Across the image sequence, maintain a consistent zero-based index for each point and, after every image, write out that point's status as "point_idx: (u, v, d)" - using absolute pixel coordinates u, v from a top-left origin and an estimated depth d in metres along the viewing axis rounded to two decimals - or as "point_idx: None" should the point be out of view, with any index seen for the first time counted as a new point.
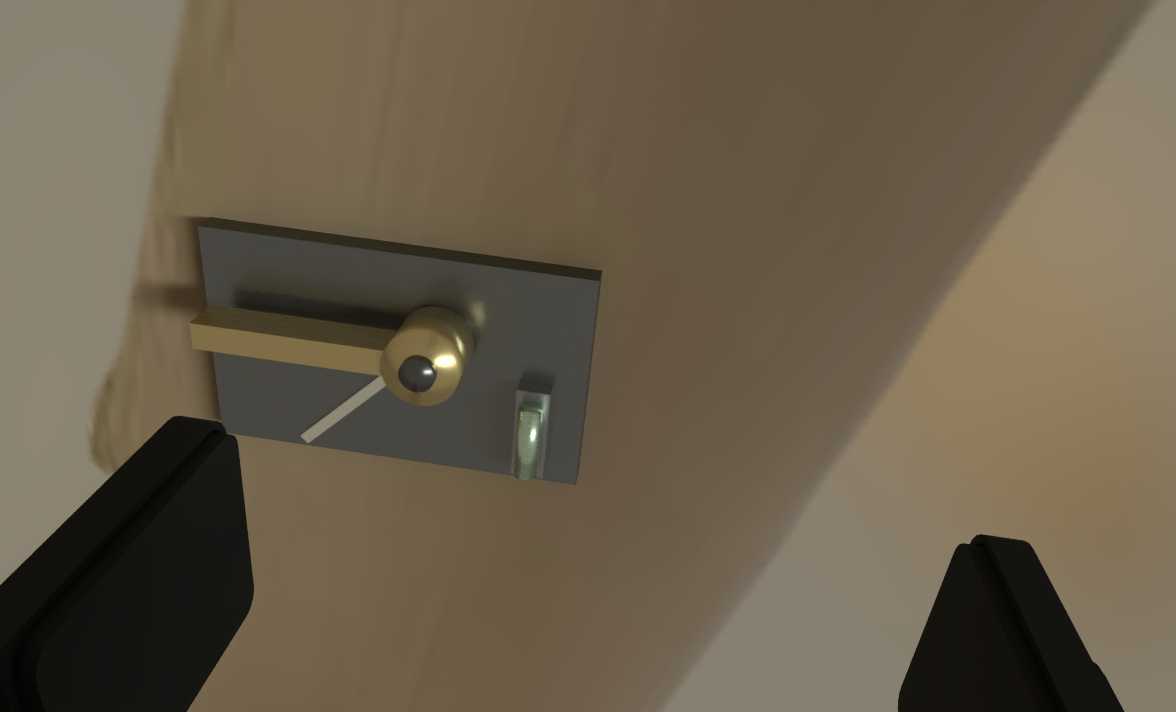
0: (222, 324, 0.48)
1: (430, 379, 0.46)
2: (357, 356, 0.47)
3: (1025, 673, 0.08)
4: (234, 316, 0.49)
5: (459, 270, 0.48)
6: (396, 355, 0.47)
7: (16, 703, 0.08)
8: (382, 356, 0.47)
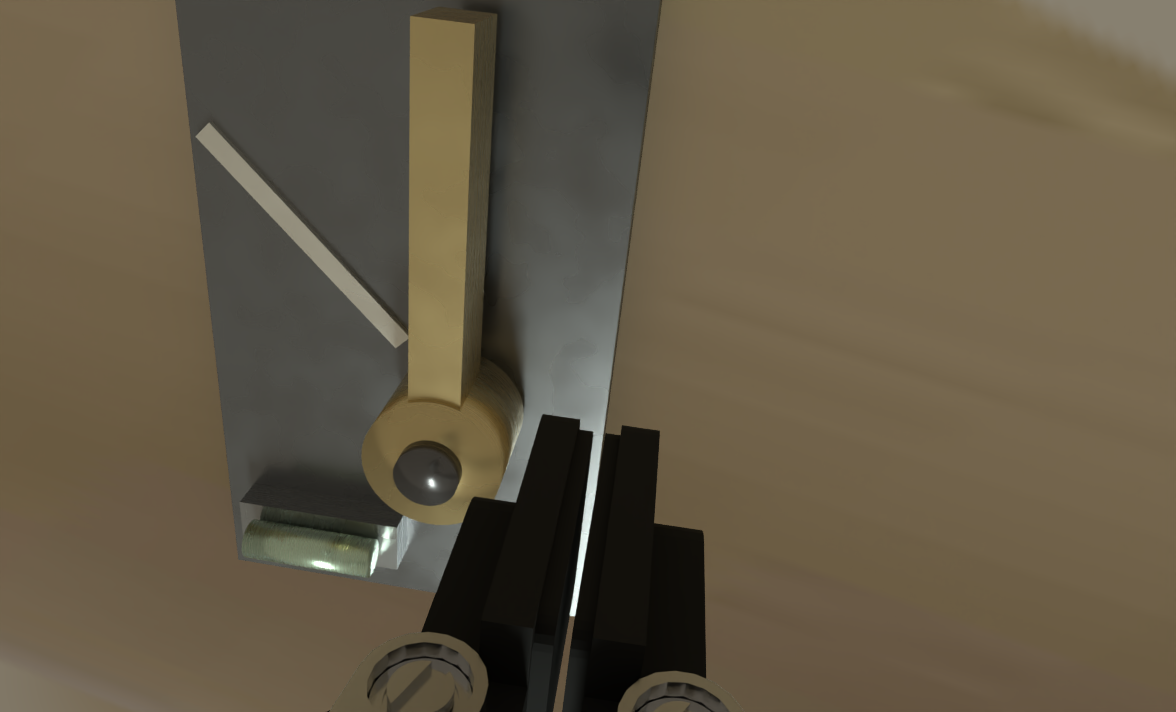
0: (475, 95, 0.22)
1: (422, 500, 0.26)
2: (442, 365, 0.25)
3: (594, 525, 0.10)
4: (485, 91, 0.23)
5: None
6: (456, 437, 0.26)
7: (530, 671, 0.08)
8: (451, 414, 0.26)
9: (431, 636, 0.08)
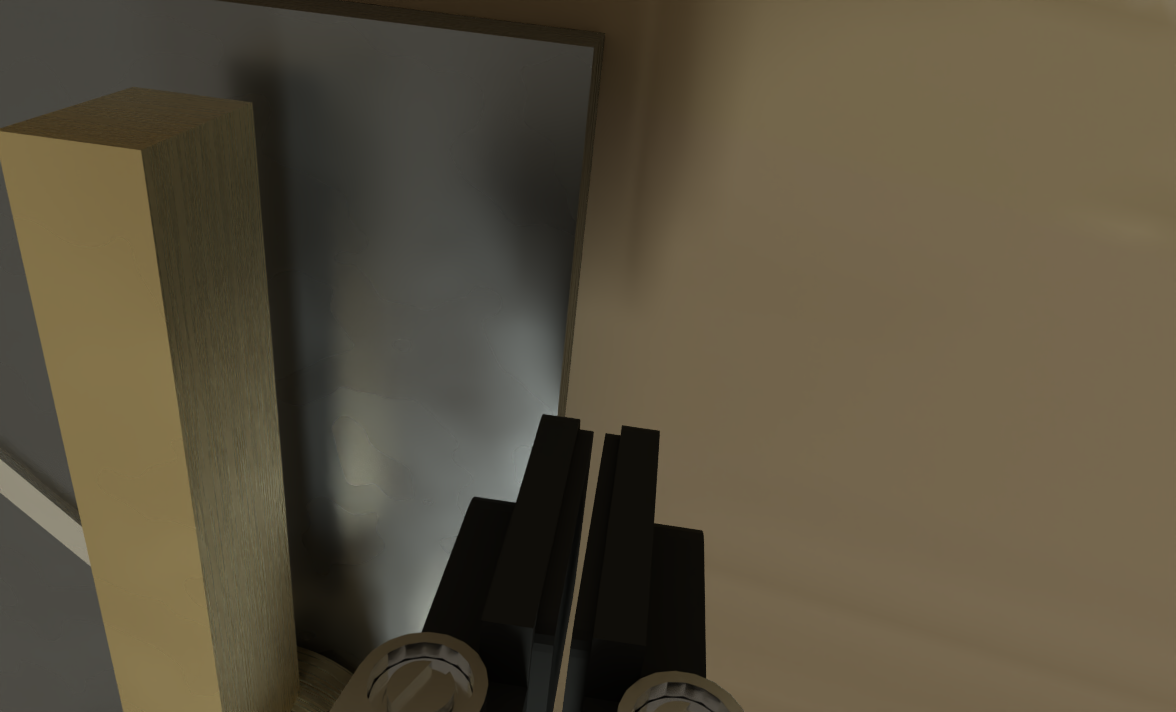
0: (179, 291, 0.10)
1: None
2: None
3: (594, 526, 0.10)
4: (229, 263, 0.11)
5: None
6: None
7: (530, 671, 0.08)
8: None
9: (431, 636, 0.08)
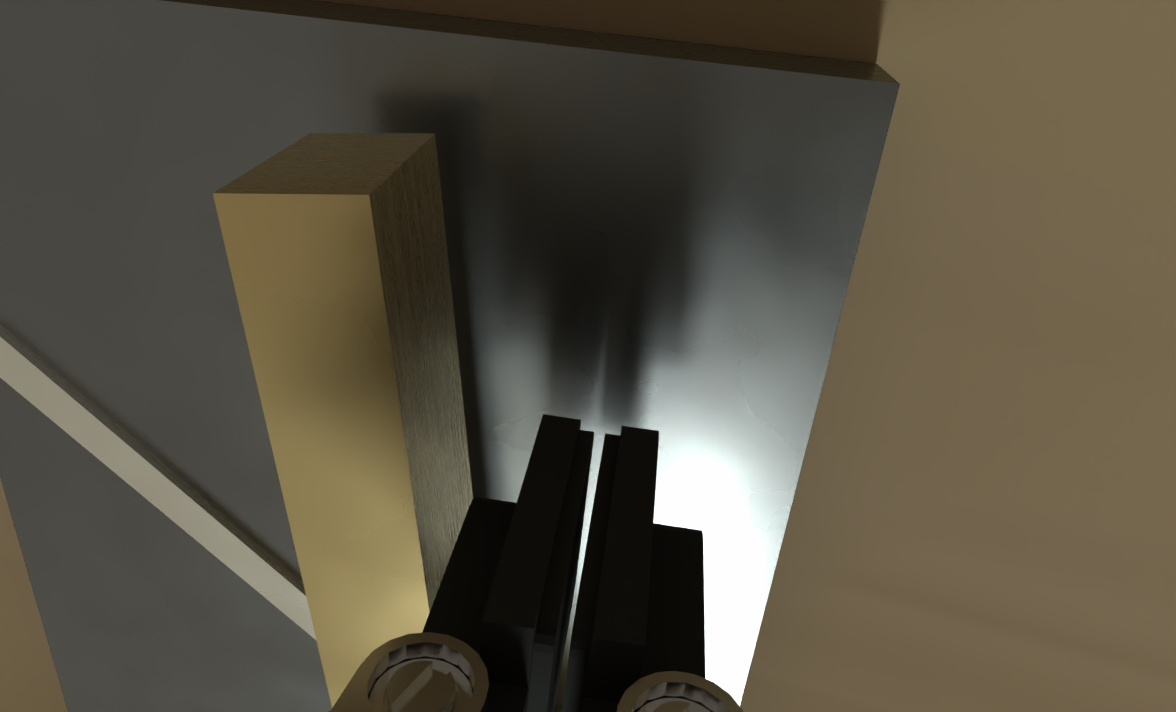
0: (401, 338, 0.09)
1: None
2: None
3: (594, 525, 0.10)
4: (430, 303, 0.11)
5: None
6: None
7: (531, 672, 0.08)
8: None
9: (432, 637, 0.08)
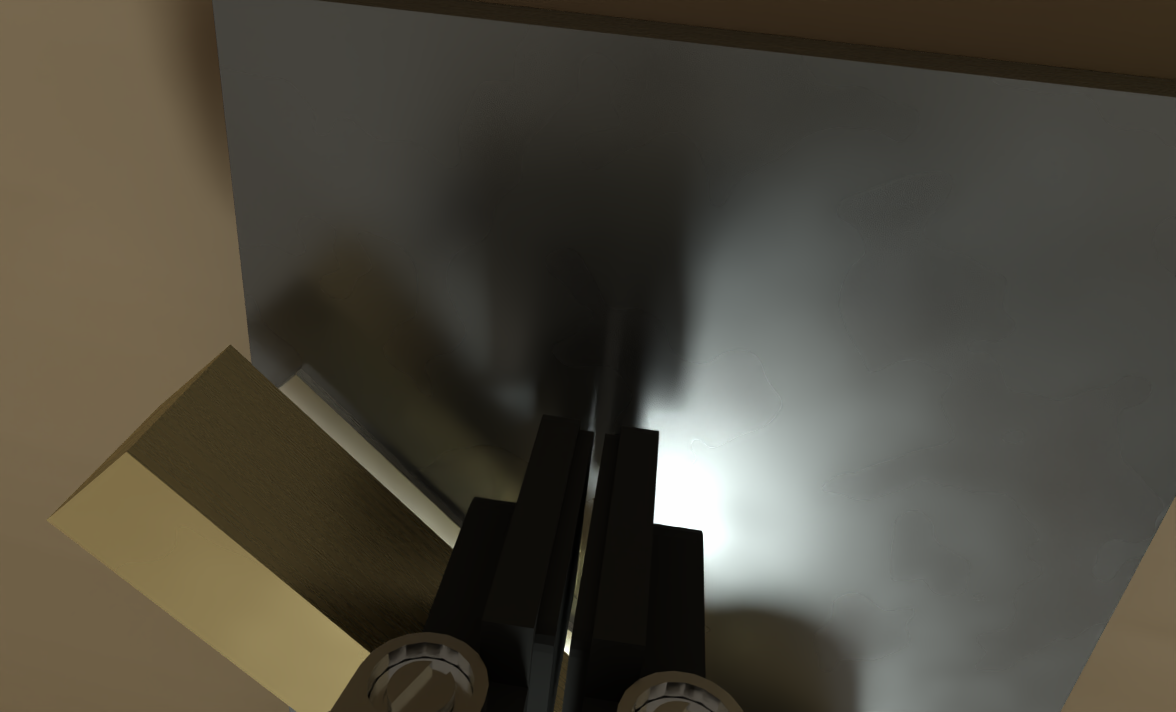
0: (261, 534, 0.10)
1: None
2: None
3: (594, 525, 0.10)
4: (305, 479, 0.11)
5: None
6: None
7: (531, 671, 0.08)
8: None
9: (432, 636, 0.08)
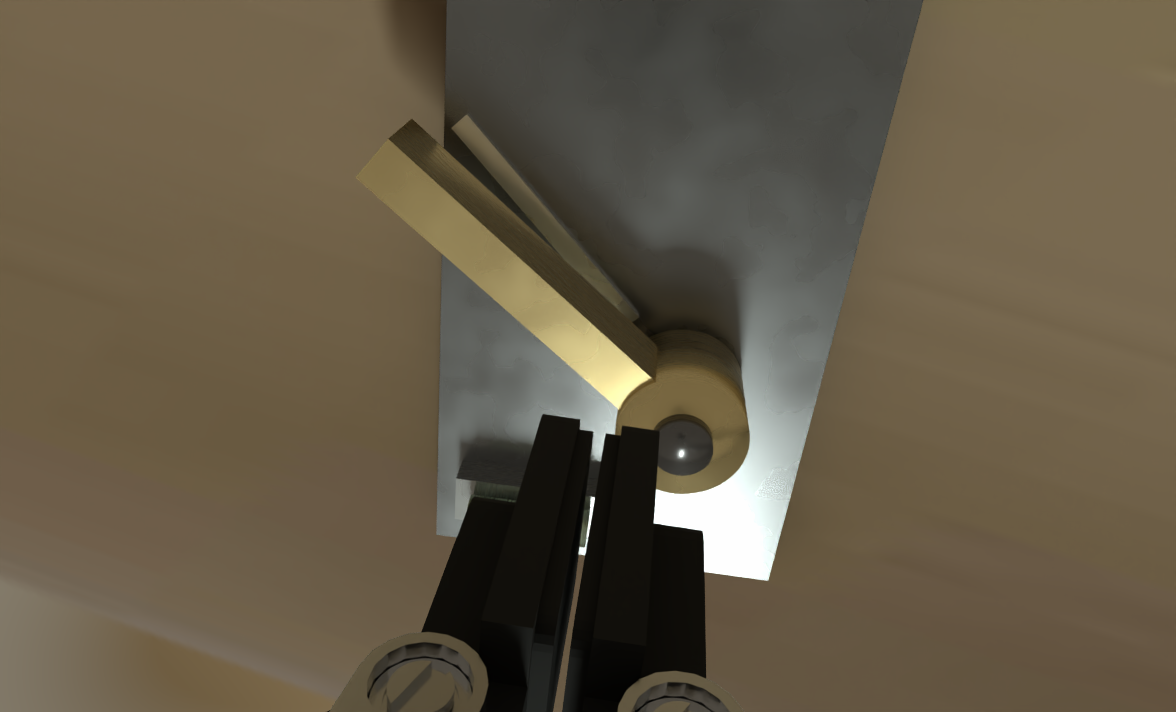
0: (437, 178, 0.25)
1: (697, 466, 0.28)
2: (610, 363, 0.27)
3: (594, 525, 0.10)
4: (449, 169, 0.26)
5: (796, 420, 0.32)
6: (672, 401, 0.27)
7: (530, 671, 0.08)
8: (651, 390, 0.27)
9: (431, 636, 0.08)
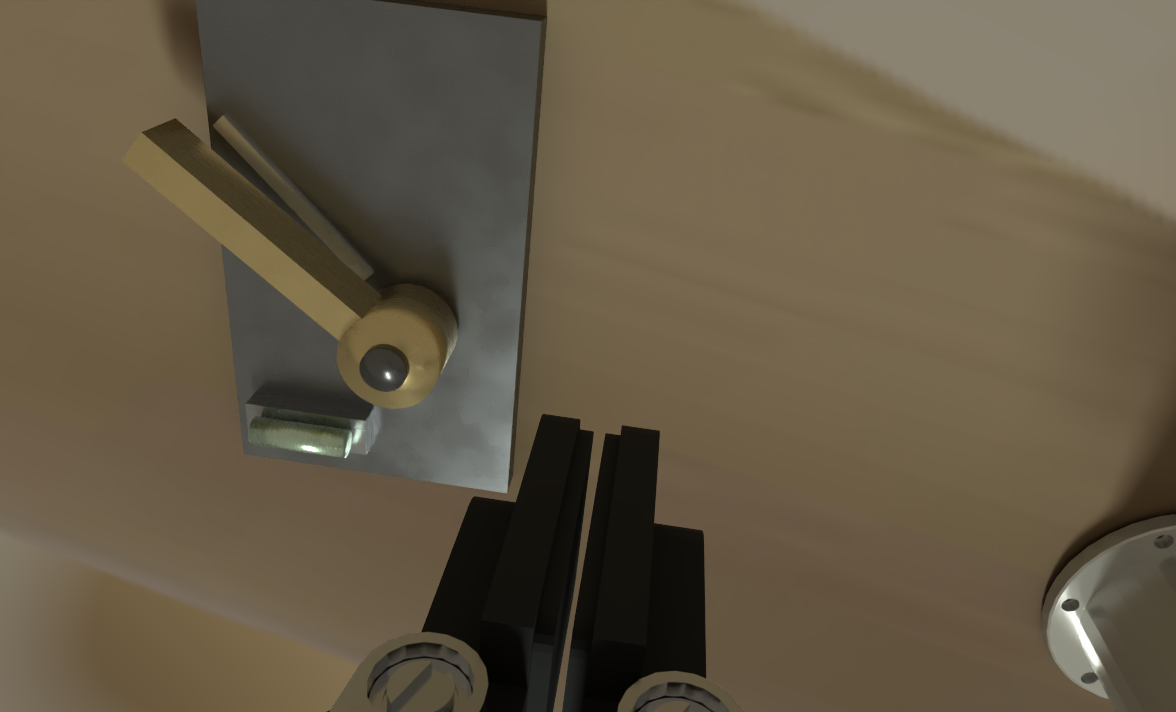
0: (183, 161, 0.34)
1: (396, 384, 0.36)
2: (326, 304, 0.36)
3: (594, 526, 0.10)
4: (200, 156, 0.35)
5: (506, 358, 0.41)
6: (374, 333, 0.36)
7: (530, 671, 0.08)
8: (357, 324, 0.36)
9: (431, 636, 0.08)
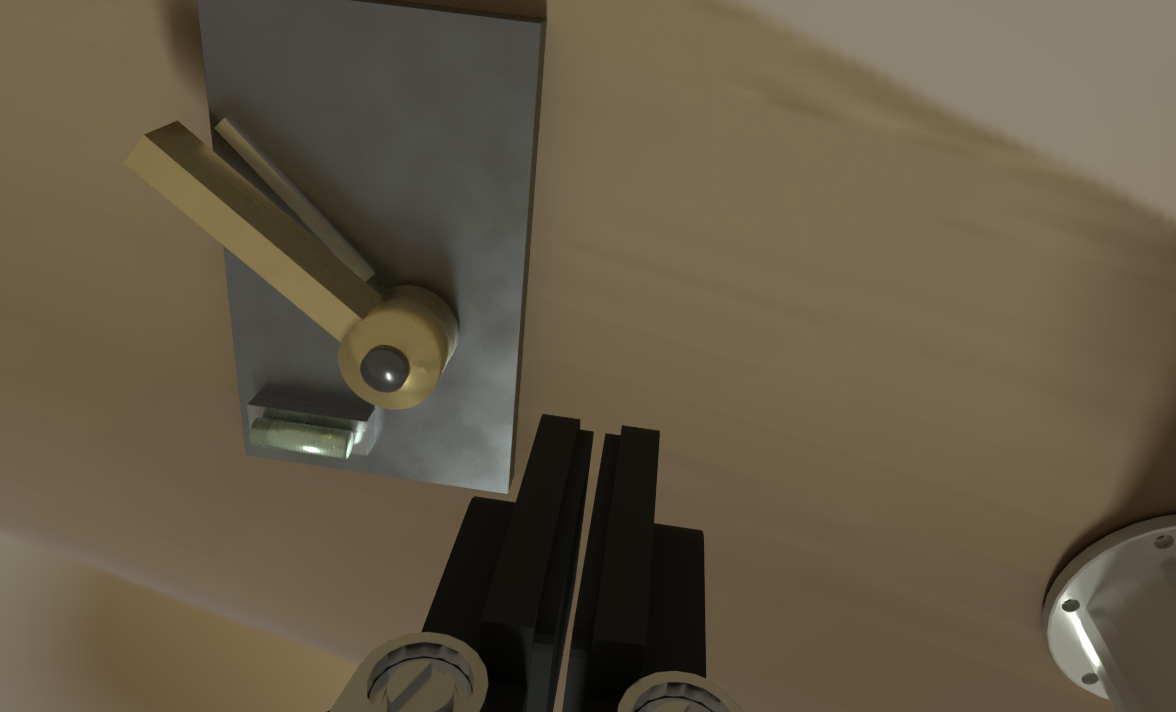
0: (185, 164, 0.34)
1: (396, 385, 0.37)
2: (327, 305, 0.36)
3: (594, 526, 0.10)
4: (202, 158, 0.35)
5: (506, 359, 0.41)
6: (375, 334, 0.36)
7: (530, 671, 0.08)
8: (358, 325, 0.36)
9: (431, 636, 0.08)
